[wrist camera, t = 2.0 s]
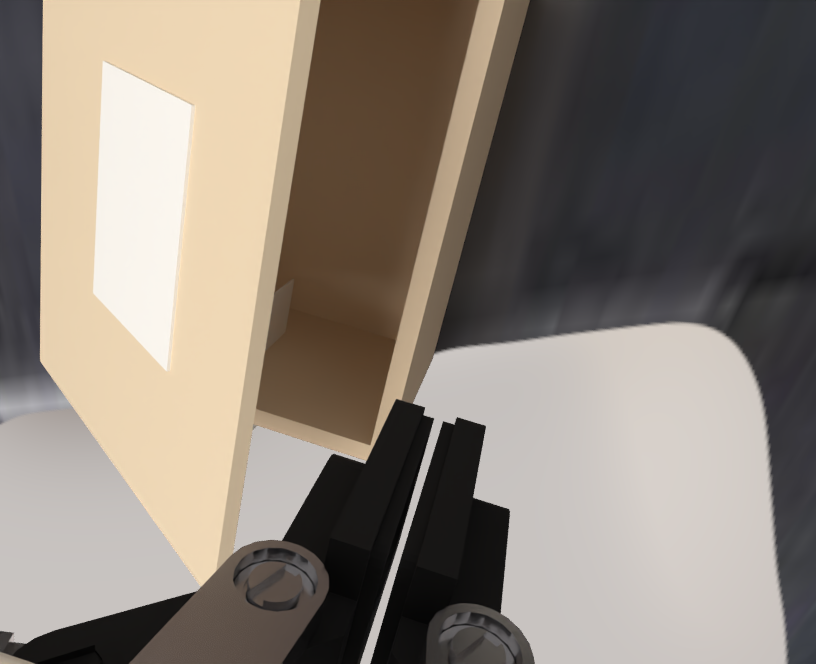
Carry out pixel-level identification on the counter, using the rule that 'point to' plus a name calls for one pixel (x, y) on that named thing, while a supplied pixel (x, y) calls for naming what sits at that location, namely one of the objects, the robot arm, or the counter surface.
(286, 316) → the carton
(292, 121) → the lid flap
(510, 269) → the counter surface
